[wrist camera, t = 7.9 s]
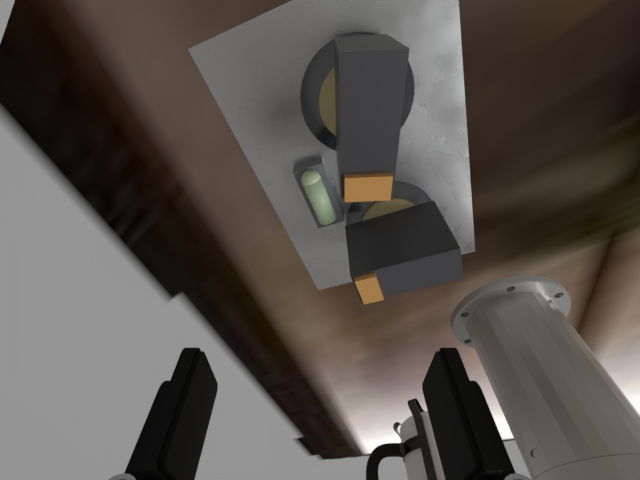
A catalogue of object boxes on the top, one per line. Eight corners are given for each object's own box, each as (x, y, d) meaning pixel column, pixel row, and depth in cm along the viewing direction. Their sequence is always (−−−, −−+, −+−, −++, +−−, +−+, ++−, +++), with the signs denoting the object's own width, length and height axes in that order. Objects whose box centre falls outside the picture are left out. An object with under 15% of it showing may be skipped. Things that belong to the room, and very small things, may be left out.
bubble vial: (343, 213, 25) (345, 228, 24) (318, 221, 26) (318, 236, 24) (321, 156, 22) (322, 169, 21) (293, 166, 23) (291, 179, 21)
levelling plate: (467, 237, 29) (475, 252, 28) (318, 275, 32) (318, 291, 31) (440, -70, 16) (454, -77, 15) (198, 44, 20) (187, 49, 18)
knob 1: (401, 31, 17) (437, 48, 12) (390, 151, 22) (412, 202, 16) (315, 36, 17) (314, 55, 12) (321, 154, 22) (322, 206, 16)
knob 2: (436, 231, 26) (466, 292, 21) (356, 253, 28) (365, 315, 22) (429, 183, 23) (461, 240, 18) (340, 210, 25) (346, 270, 19)
